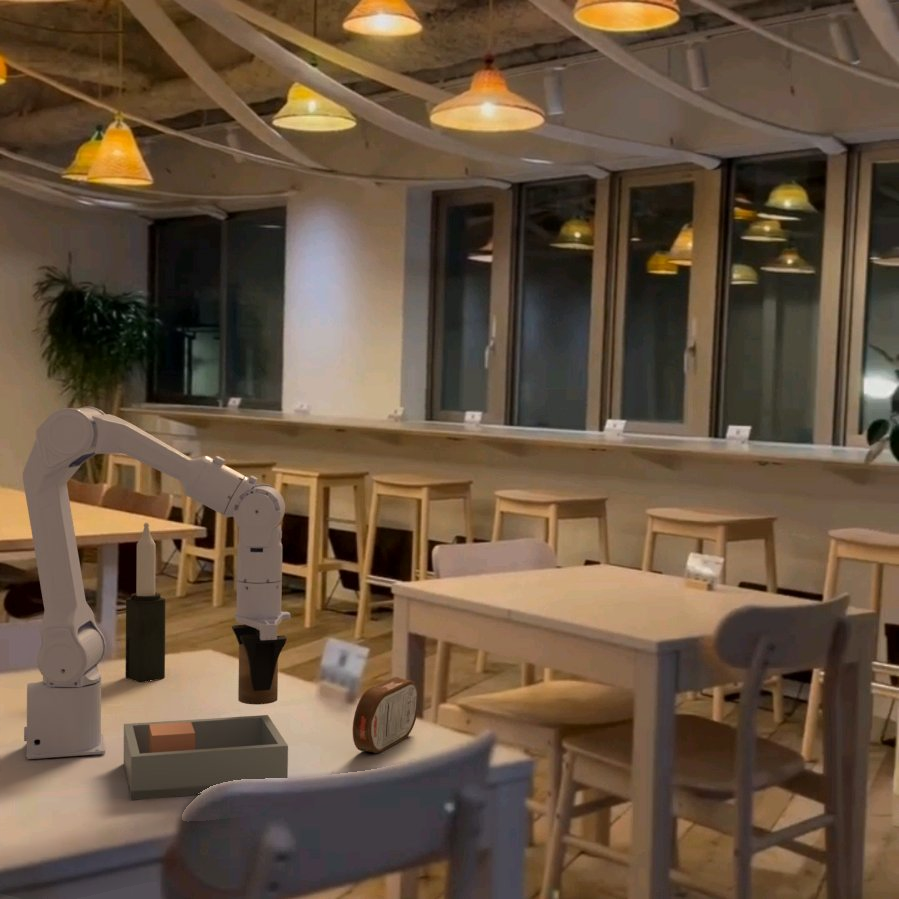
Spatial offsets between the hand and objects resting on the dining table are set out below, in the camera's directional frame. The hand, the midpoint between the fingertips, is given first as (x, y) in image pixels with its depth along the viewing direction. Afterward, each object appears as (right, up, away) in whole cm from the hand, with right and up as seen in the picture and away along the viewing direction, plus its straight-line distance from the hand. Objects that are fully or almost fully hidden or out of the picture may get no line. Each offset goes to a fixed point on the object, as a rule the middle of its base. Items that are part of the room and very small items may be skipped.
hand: (257, 684), depth 161 cm
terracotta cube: (-9, -8, -10) cm, 16 cm away
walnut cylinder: (0, -2, 0) cm, 2 cm away
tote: (-5, -9, -9) cm, 14 cm away
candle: (-24, -7, +39) cm, 47 cm away
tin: (+16, -9, +5) cm, 20 cm away
